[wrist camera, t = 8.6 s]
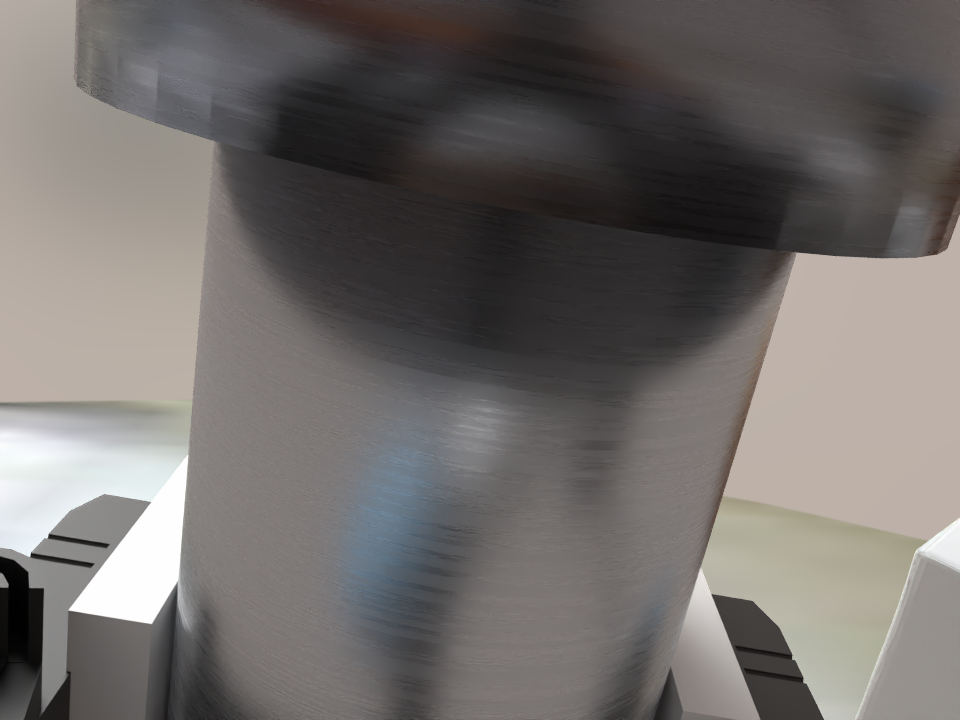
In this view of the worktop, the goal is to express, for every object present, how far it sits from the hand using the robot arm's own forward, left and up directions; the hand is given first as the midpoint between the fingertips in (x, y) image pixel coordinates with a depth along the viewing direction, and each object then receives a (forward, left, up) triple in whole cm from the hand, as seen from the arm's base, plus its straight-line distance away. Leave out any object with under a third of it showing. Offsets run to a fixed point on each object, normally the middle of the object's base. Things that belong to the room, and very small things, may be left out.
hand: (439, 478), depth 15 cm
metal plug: (-3, +5, -10) cm, 11 cm away
